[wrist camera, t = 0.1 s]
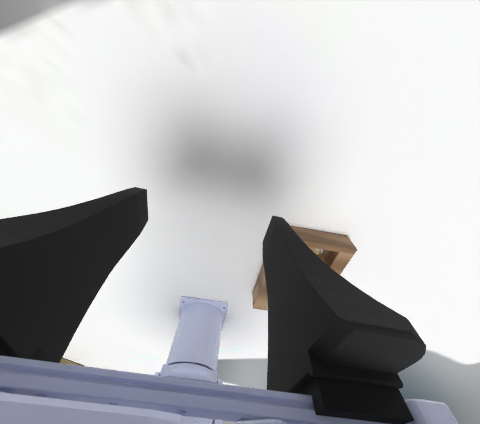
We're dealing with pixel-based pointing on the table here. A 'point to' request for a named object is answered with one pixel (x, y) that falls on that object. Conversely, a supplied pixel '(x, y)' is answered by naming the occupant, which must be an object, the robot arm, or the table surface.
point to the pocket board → (334, 254)
